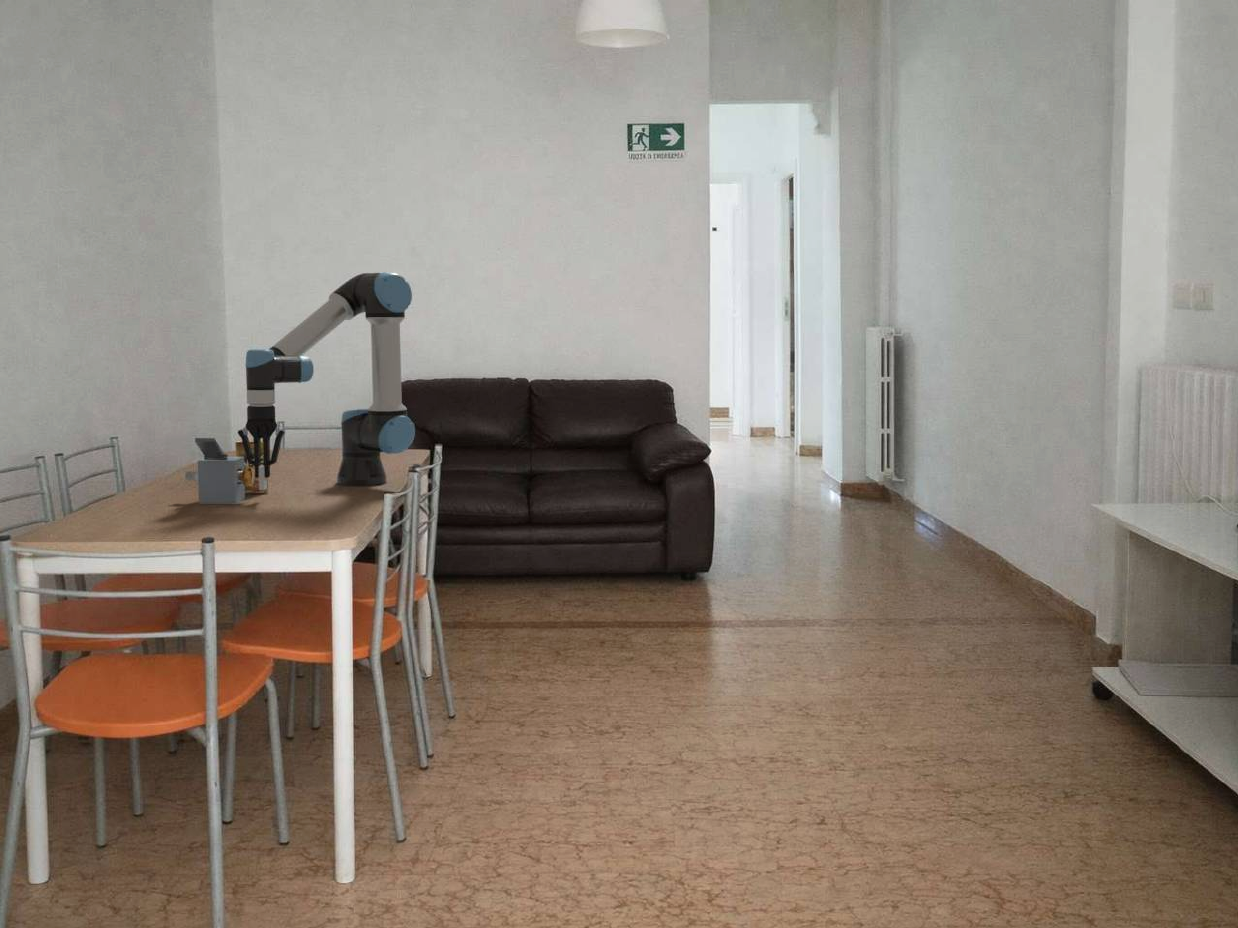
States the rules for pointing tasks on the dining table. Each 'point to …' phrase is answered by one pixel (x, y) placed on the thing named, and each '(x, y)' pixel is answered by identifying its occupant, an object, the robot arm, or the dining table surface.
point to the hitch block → (220, 481)
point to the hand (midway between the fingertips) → (262, 489)
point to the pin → (243, 476)
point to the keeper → (210, 449)
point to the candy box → (241, 453)
